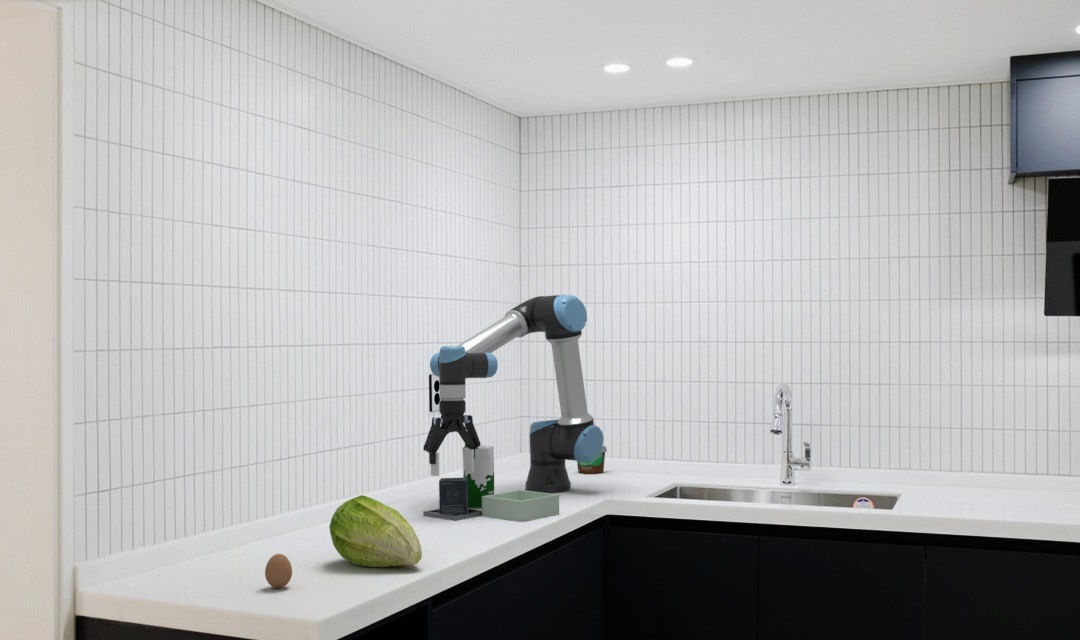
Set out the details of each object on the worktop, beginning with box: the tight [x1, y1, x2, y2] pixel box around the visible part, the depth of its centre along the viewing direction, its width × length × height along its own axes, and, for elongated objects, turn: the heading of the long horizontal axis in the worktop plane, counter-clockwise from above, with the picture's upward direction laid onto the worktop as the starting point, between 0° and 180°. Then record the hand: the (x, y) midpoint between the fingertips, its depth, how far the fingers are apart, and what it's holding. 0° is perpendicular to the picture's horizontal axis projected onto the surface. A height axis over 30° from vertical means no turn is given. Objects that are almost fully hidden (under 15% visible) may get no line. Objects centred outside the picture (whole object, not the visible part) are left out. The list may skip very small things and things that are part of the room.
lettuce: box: [329, 494, 423, 568], centre depth 238 cm, size 15×25×16 cm
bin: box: [481, 489, 560, 522], centre depth 302 cm, size 16×16×6 cm
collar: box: [422, 508, 483, 522], centre depth 303 cm, size 12×14×1 cm
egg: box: [264, 553, 293, 589], centre depth 217 cm, size 5×5×7 cm
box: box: [438, 477, 469, 515], centre depth 303 cm, size 8×6×11 cm
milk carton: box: [461, 443, 495, 509], centre depth 319 cm, size 9×9×20 cm
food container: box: [576, 445, 608, 475], centre depth 391 cm, size 12×6×10 cm, turn 80°
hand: (452, 473), depth 303 cm, fingers open, 13 cm apart
